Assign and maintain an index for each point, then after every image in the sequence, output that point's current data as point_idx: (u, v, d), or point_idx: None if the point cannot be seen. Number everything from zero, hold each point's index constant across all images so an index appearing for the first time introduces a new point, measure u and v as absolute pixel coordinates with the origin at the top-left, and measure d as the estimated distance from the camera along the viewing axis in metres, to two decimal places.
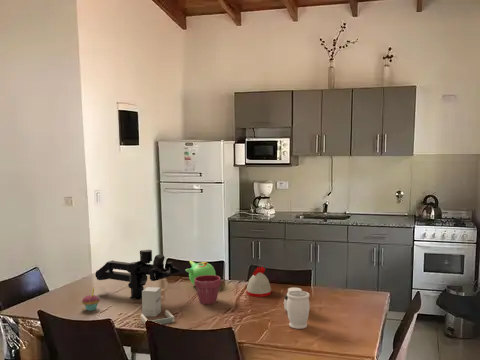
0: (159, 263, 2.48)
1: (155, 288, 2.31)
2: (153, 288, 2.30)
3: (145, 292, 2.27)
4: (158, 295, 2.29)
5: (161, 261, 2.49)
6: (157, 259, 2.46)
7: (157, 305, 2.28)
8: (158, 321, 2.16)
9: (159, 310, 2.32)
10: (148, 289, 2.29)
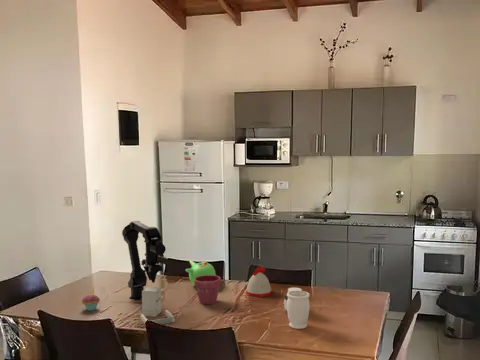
0: None
1: (155, 288, 2.31)
2: (153, 288, 2.30)
3: (145, 292, 2.27)
4: (158, 295, 2.29)
5: None
6: (165, 262, 2.42)
7: (157, 305, 2.28)
8: (158, 321, 2.16)
9: (159, 310, 2.32)
10: (148, 289, 2.29)
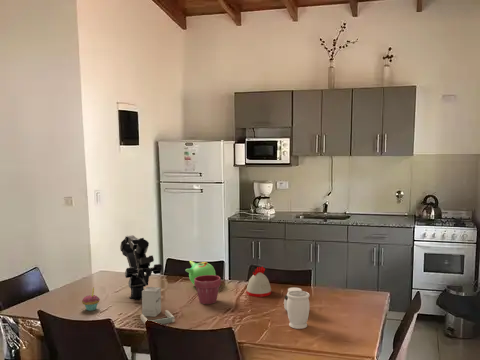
0: (143, 264, 2.39)
1: (155, 288, 2.31)
2: (153, 288, 2.30)
3: (145, 292, 2.27)
4: (158, 295, 2.29)
5: (146, 263, 2.39)
6: (141, 262, 2.37)
7: (157, 305, 2.28)
8: (158, 321, 2.16)
9: (159, 310, 2.32)
10: (148, 289, 2.29)
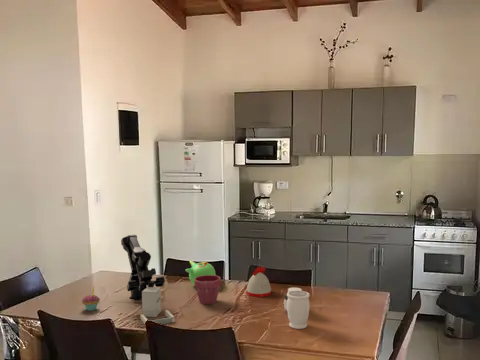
0: (145, 277, 2.37)
1: (155, 288, 2.30)
2: (152, 289, 2.29)
3: (145, 293, 2.26)
4: (158, 295, 2.28)
5: (149, 276, 2.37)
6: (143, 275, 2.34)
7: (157, 305, 2.27)
8: (158, 321, 2.16)
9: (159, 310, 2.31)
10: (148, 290, 2.27)
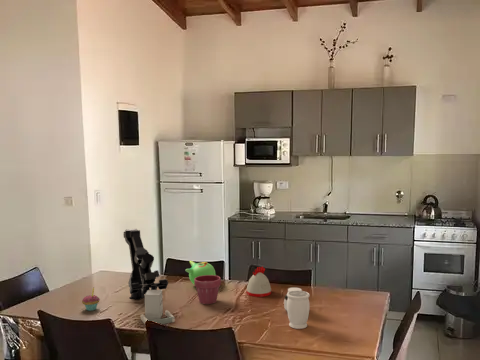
0: (148, 279, 2.32)
1: (157, 291, 2.25)
2: (155, 291, 2.25)
3: (148, 296, 2.21)
4: (161, 298, 2.24)
5: (152, 279, 2.31)
6: (146, 277, 2.29)
7: (160, 308, 2.23)
8: (158, 321, 2.16)
9: (162, 313, 2.27)
10: (150, 293, 2.22)
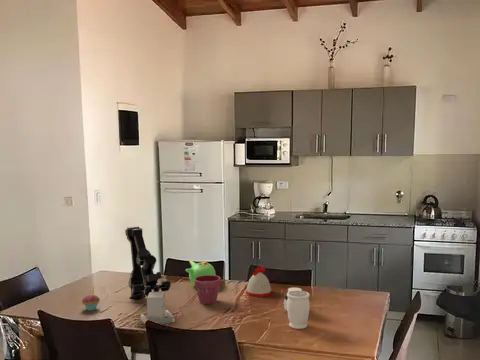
0: (151, 281, 2.28)
1: (159, 293, 2.21)
2: (157, 294, 2.21)
3: (150, 299, 2.17)
4: (163, 300, 2.20)
5: (154, 280, 2.28)
6: (148, 279, 2.25)
7: (163, 310, 2.19)
8: (158, 321, 2.16)
9: (164, 315, 2.24)
10: (152, 295, 2.19)
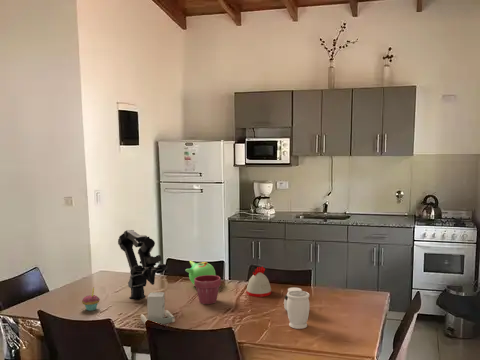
0: (151, 263, 2.38)
1: (159, 293, 2.23)
2: (157, 294, 2.22)
3: (151, 298, 2.18)
4: (163, 300, 2.21)
5: (154, 262, 2.38)
6: (150, 261, 2.35)
7: (163, 310, 2.20)
8: (158, 321, 2.16)
9: (164, 315, 2.24)
10: (153, 295, 2.20)
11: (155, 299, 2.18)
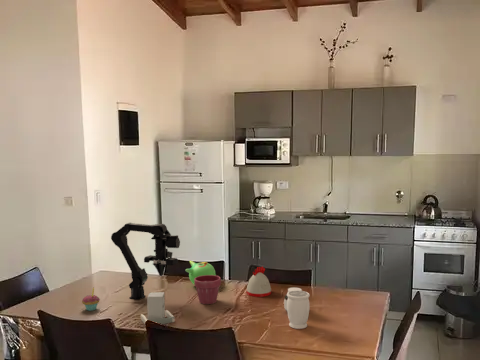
0: None
1: (159, 293, 2.23)
2: (157, 294, 2.22)
3: (151, 298, 2.18)
4: (163, 300, 2.21)
5: None
6: (171, 256, 2.57)
7: (163, 310, 2.20)
8: (158, 321, 2.16)
9: (164, 315, 2.24)
10: (153, 295, 2.20)
11: (155, 299, 2.18)
